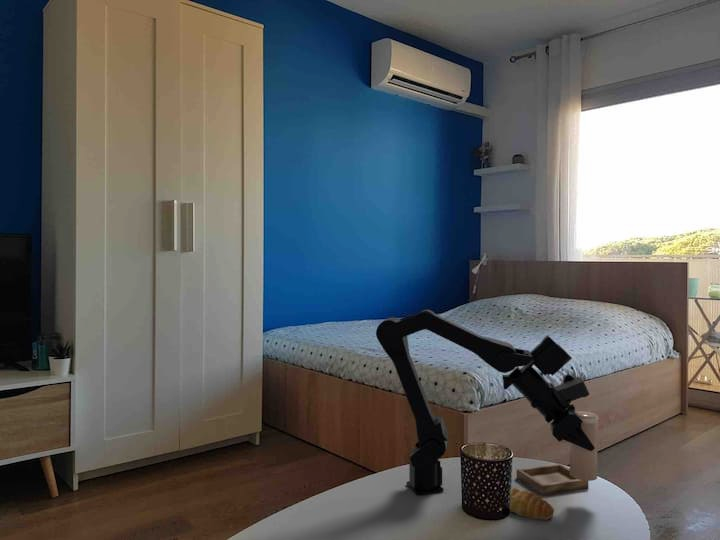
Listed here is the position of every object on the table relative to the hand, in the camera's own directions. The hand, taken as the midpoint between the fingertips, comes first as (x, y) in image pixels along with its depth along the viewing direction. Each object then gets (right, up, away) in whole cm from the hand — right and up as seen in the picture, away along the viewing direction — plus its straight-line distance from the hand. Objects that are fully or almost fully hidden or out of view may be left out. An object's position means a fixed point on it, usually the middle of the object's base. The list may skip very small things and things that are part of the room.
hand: (590, 445), depth 119 cm
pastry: (-14, -13, -3) cm, 19 cm away
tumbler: (-1, -7, 0) cm, 7 cm away
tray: (-5, -12, +11) cm, 17 cm away
